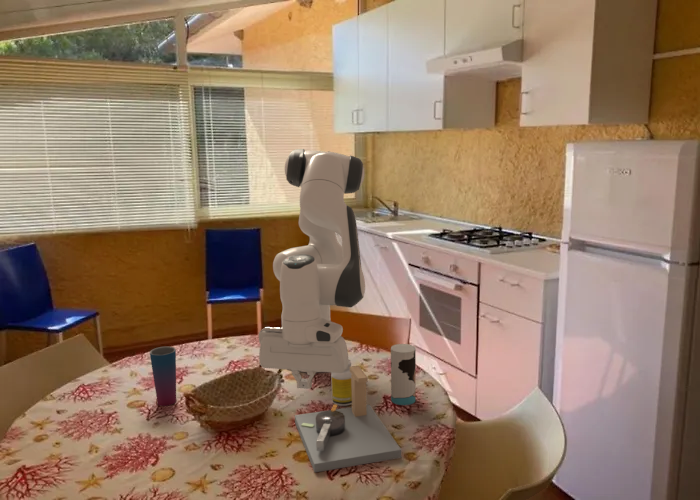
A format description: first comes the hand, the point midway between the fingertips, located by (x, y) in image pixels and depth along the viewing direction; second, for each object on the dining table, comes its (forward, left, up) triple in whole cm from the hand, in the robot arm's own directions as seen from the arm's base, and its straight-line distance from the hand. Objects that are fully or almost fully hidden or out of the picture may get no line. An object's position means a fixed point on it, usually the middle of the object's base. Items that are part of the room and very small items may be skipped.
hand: (304, 387), depth 132 cm
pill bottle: (-23, +15, -16) cm, 32 cm away
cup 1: (-38, -32, -16) cm, 53 cm away
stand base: (-3, +10, -16) cm, 19 cm away
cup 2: (-19, +31, -16) cm, 40 cm away
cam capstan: (-3, +6, -14) cm, 16 cm away
